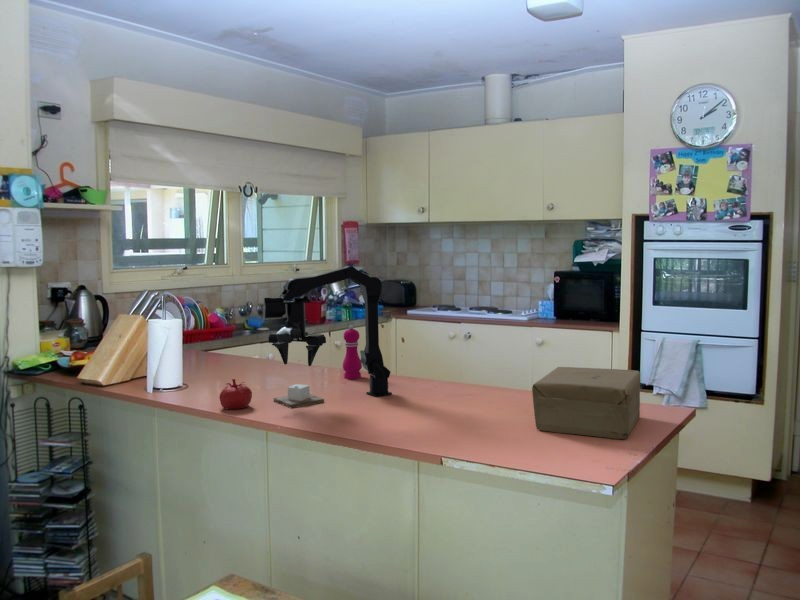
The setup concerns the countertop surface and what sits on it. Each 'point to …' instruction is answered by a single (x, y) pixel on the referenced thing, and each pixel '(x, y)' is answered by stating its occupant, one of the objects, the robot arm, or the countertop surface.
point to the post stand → (296, 403)
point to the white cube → (298, 392)
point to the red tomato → (235, 396)
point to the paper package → (588, 401)
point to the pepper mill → (351, 354)
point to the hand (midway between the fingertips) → (297, 365)
